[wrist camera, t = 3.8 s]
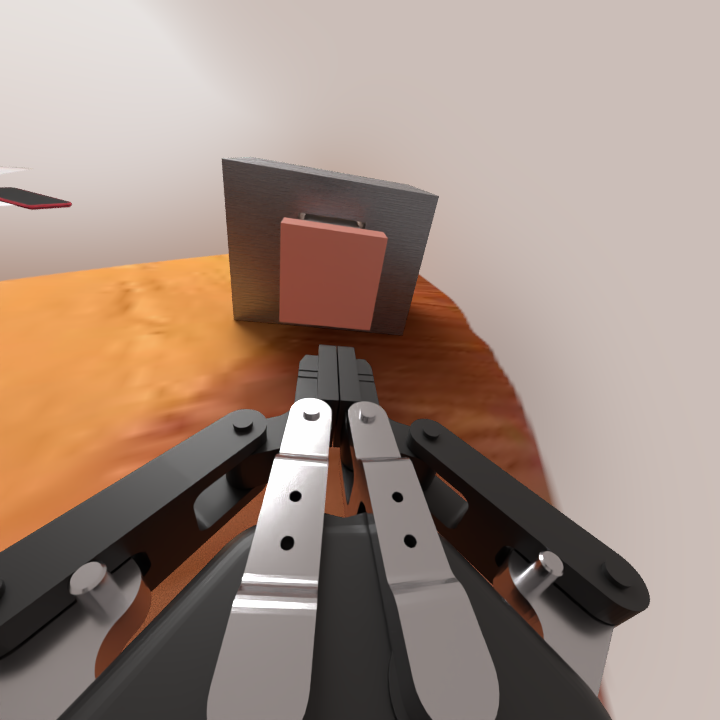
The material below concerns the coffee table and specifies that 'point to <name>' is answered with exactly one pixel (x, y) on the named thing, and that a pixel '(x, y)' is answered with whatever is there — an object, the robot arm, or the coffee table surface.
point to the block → (325, 198)
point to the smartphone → (31, 199)
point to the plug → (329, 272)
